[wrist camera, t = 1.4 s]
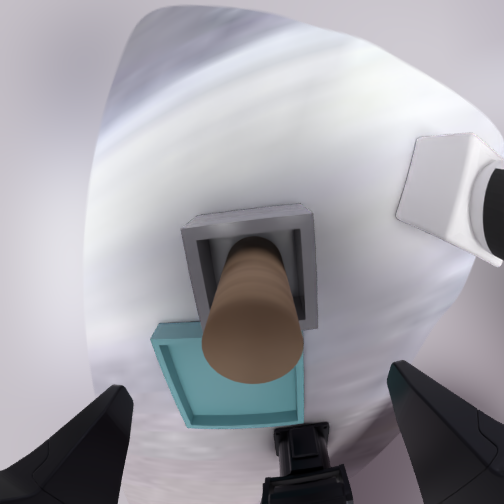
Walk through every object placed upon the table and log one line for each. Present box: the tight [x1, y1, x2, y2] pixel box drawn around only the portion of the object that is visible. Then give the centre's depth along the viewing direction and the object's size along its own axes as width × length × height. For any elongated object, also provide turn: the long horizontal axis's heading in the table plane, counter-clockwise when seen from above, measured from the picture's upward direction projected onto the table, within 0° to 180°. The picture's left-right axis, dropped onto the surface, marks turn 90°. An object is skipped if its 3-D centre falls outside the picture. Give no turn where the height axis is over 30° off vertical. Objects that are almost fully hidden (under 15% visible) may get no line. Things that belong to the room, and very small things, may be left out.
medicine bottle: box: [396, 133, 504, 267], centre depth 13 cm, size 7×7×12 cm
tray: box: [150, 321, 304, 429], centre depth 23 cm, size 12×12×2 cm
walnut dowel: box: [202, 236, 304, 384], centre depth 15 cm, size 4×4×10 cm
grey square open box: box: [181, 203, 318, 332], centre depth 19 cm, size 8×8×4 cm
